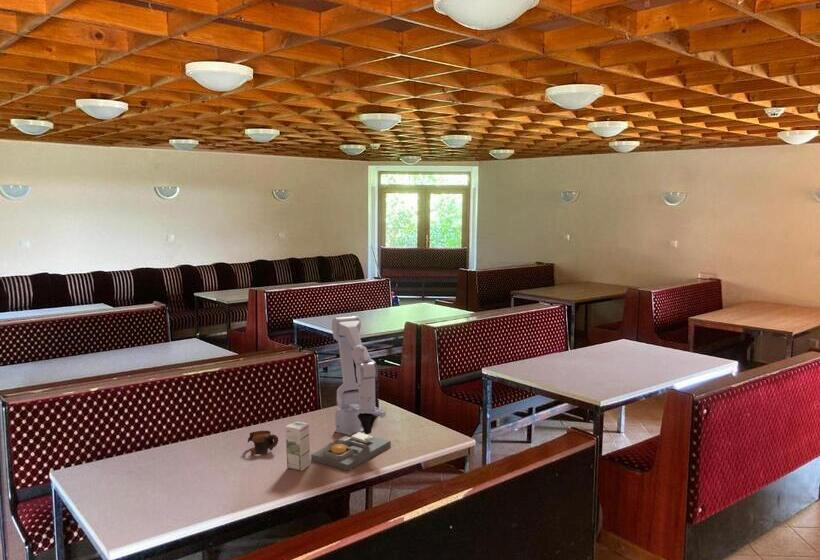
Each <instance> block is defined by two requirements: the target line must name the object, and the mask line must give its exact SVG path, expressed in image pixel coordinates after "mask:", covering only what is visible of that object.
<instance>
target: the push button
mask: <svg viewBox="0 0 820 560" xmlns="http://www.w3.org/2000/svg"><path fill="white" fill-rule="evenodd" d="M345 452H346V445H344V444H335V445H333V446H331V453H334V454H337V455H341V454H343V453H345Z"/></svg>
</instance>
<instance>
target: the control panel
mask: <svg viewBox="0 0 820 560" xmlns="http://www.w3.org/2000/svg"><path fill="white" fill-rule="evenodd" d="M356 433H357V432H354V433H352V434H350V435H346V436H347V437H351V436H352V435H354V434H356ZM371 436H372V435H371ZM372 437H373V439H372V440H370V441H369V442H367V443H364V442H361V441H359V440H356V439H353V438H352V444H351V445H349V446H348V447H347V446H346V452H345V453H343V454H341V455H337V454H334V453H331V446H333V445H335V444H338V440H337V441H334V442H333V443H331V444H329V445H327V446H324V447H323V448H321V449H319V450H317V451H315V452H313V453H310V461H314V462H317V463H320V464H324V465H328V466H330V467H333V466H334V467H333V468H337V467H338V469H340V468H341V469H340V470H343V469H345V470H344V471H347V470H349V471H351V470H352V469H354V468H356V467H357V466H359V465H361V464H363V463H364V462H366V461H368V460H369V459H371V458H373V457H374V456H376V455H378V454H380V453H381V452H383V451H385V450H387V449H388V448H390V447H392V446H391V444H392V443H391V441H392V440H390V439H385V438H381V437H378V436H377V437H376V436H372ZM353 467H354V468H353ZM350 469H351V470H350Z"/></svg>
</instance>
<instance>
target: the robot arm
mask: <svg viewBox="0 0 820 560" xmlns="http://www.w3.org/2000/svg"><path fill="white" fill-rule="evenodd" d="M361 327H362V323H361V319H360V317H359V316H358V315H357V314H356V315H352V316H351V315H350V316H349V315H348V316H340V317H339V316H338V317H337V316H335V317H333V319H332V321H331V329H332V331H331V332H332V337H333V340H336V341H337V343H338V348H339V349H338V351H339V357H340V358H339V359H340V360H339V361H340V366H341V367H340V368H341V374H342V384H341V385H340V386H339V387H338V388H337V389H336V405H337V409H336V411H335V413H334V414H335V415H334V416H335V417H334V418H335V419H334V421H335V422H334V423H335V429H334V432H336V433H339V434H343V435H346V436H349V435H350V434H352V433H354V432H357V433H358V432H361V433H364V434H367V435H370V434H371V432H372V428H373V425H374V423H375V420H376V418H377V417H379V418H382V419H384V418H385V417H386V415H387V414H386V412H387V411H386V410H383V409H381V408H380V407H379V408H377V407H375V378H376V377H378V371H379V369H378V366H377V362H376V361H375V360H374V359H372V358H371V356H370V354H369V351H368V348H367V346H364V345H363V343H362V339H361V335H360V331H361ZM354 363H355V366H356V367H355V366H354ZM356 377H357V382H358V383H356V380H355V378H356ZM352 390H353V391H352ZM355 390H357V391H355Z"/></svg>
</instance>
